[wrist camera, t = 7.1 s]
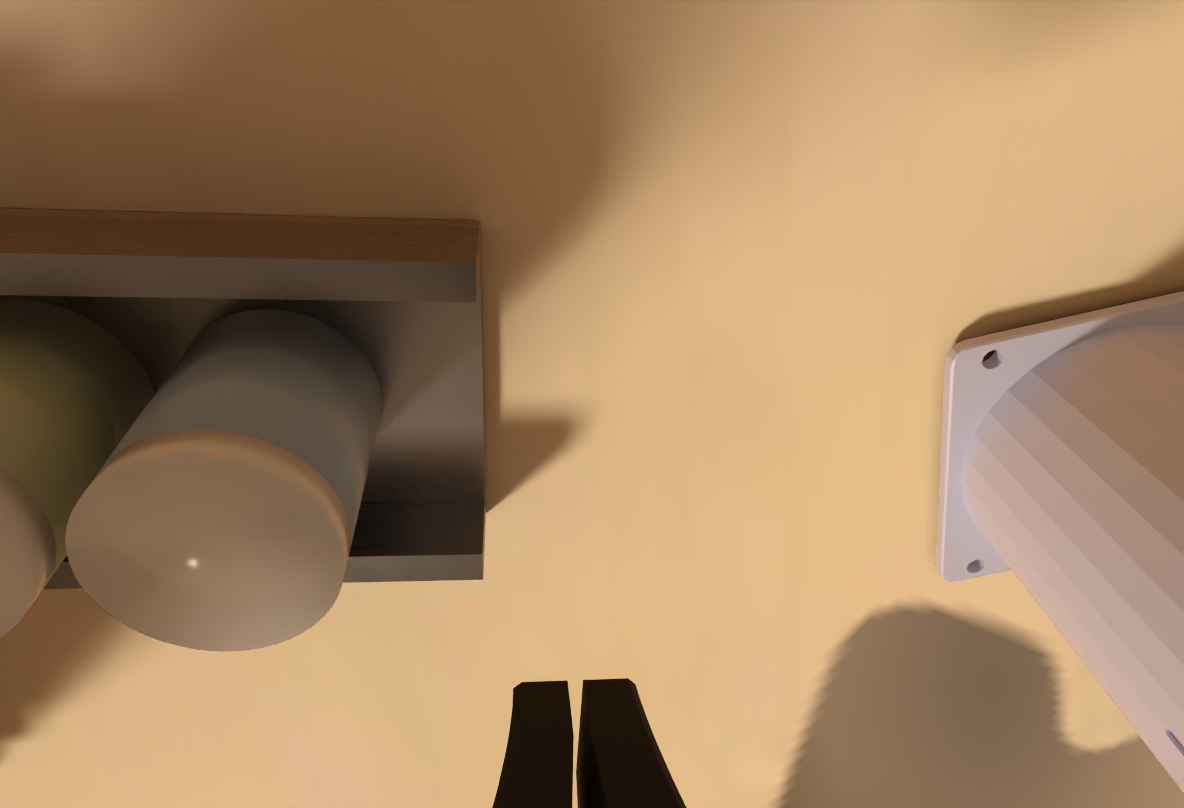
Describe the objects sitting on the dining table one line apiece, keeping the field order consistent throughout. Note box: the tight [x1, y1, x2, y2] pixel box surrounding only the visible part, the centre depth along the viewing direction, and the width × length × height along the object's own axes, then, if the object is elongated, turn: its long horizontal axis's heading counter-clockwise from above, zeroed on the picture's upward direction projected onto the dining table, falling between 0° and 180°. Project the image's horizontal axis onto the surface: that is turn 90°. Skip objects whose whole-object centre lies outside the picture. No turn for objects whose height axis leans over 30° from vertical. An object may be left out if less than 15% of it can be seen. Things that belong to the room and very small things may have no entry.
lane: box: [0, 208, 486, 589], centre depth 16 cm, size 18×8×4 cm, turn 86°
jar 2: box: [65, 309, 382, 651], centre depth 15 cm, size 4×4×5 cm
